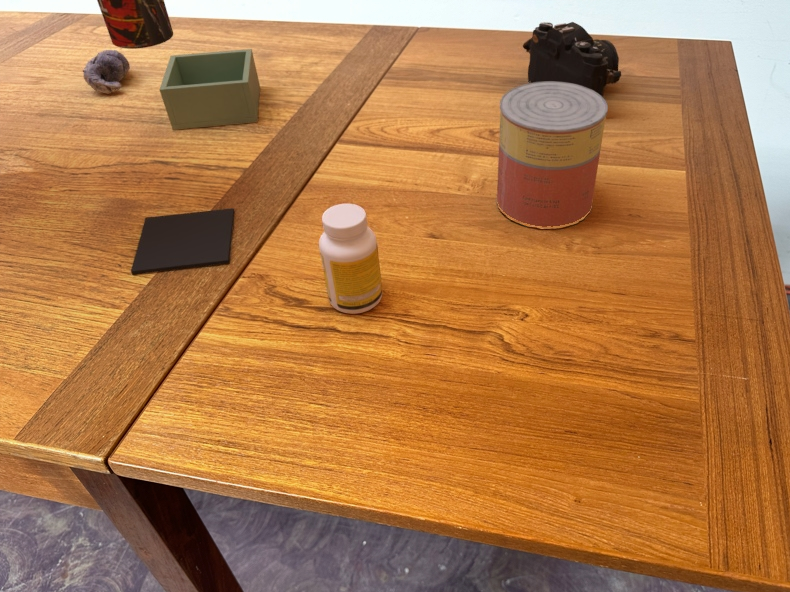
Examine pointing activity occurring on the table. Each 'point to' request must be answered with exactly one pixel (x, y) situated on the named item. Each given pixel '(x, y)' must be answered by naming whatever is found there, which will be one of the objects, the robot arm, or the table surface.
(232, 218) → the pad
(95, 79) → the grey crumpled cloth
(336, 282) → the supplement bottle
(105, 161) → the table surface
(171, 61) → the bin
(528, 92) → the canned food
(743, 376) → the table surface
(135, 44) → the deodorant
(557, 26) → the film camera
